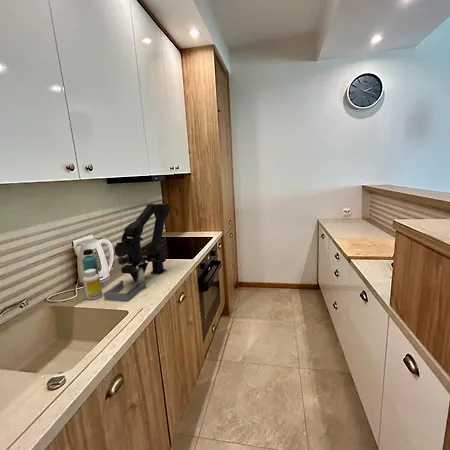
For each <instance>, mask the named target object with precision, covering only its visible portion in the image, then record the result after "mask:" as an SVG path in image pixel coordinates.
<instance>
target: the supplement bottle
mask: <svg viewBox="0 0 450 450" xmlns="http://www.w3.org/2000/svg"><path fill="white" fill-rule="evenodd" d="M84 274H85V275H84ZM98 274H99V273H98ZM98 274H96V269H89V270H86V271H84V270H83V275H84V276H85V277H83V279H82V280H83V281H82V282H83V287H84V292H85V297H86V299H87V300H95V299H98V298H101V296H102V295H103V292H102V286H101V285H102V284H101V279H100V274H99V275H98Z"/></svg>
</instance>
